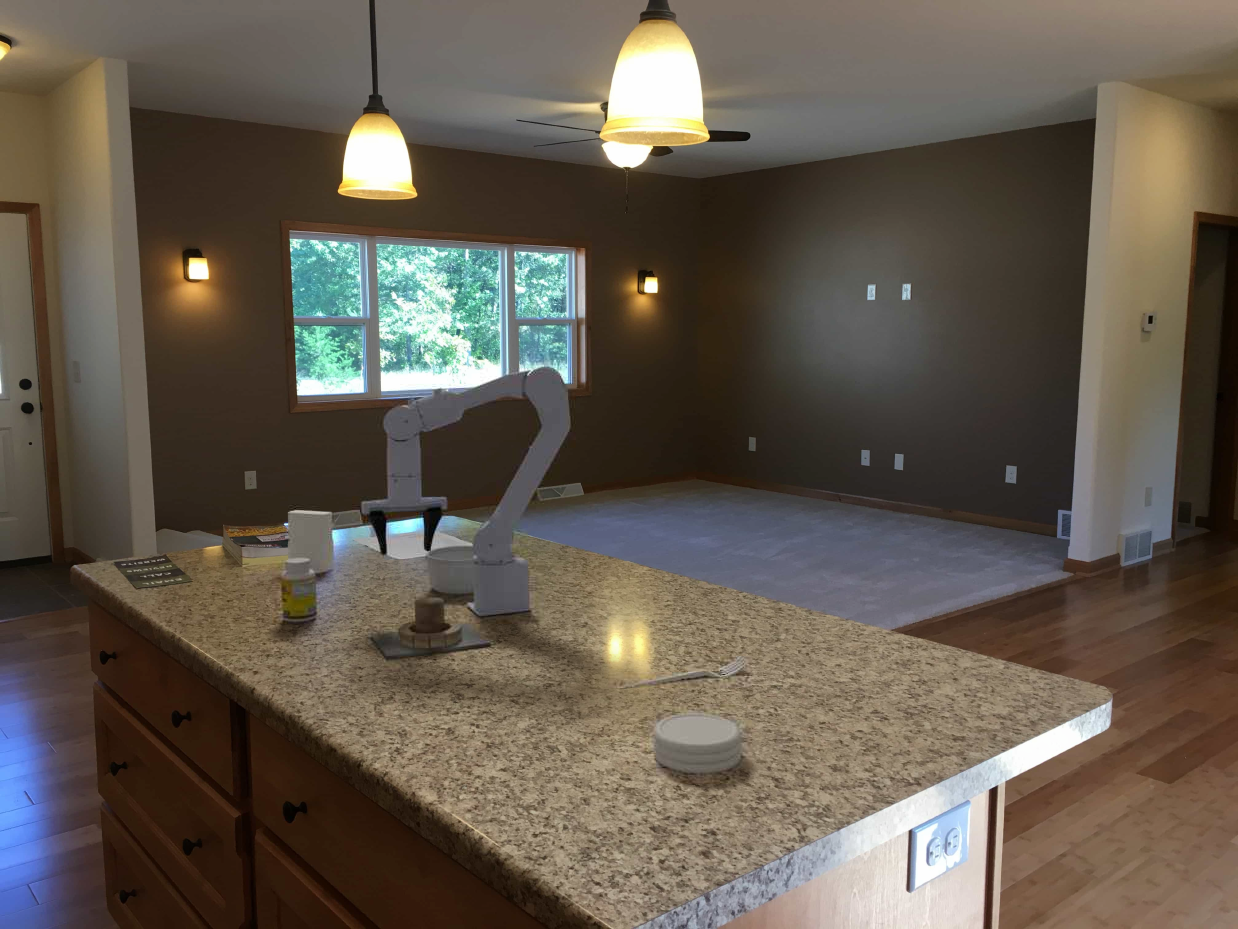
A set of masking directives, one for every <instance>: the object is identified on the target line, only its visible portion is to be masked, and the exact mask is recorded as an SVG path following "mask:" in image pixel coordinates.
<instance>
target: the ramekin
mask: <svg viewBox="0 0 1238 929" xmlns="http://www.w3.org/2000/svg"><path fill="white" fill-rule="evenodd" d="M474 556H476V554H475V552H474V550H473V545H451V546H449V545H448V546H442V547H437V548H433V549H431V551H426V553H425V562H426V563H427V572H428V579H429V584H430V587H431V588H432V589H433V590H434V591H436V592H437V593H441V594H447V595H449V594H450V595H465V594H474V576H473V557H474Z"/></svg>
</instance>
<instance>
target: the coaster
mask: <svg viewBox="0 0 1238 929" xmlns="http://www.w3.org/2000/svg"><path fill="white" fill-rule="evenodd" d="M742 736H743V735H742V731H741V729H740V727H739V726H738V725H737V724H736V723H735V722H733V721H731V720H730V719H728V718H726V717H722V716H719V715H714V714H708V713H700V712H699V713H697V712H696V713H695V712H693V713H691V712H690V713H689V712H688V713H681V714H680V713H679V714H675V715H674V714H673V715H671V716H668V717H665V718H662V719H661V720H660V721H659V722H657V723H656V724H655V725H654V728H653V742H652V743H653V750H652V753H653V754H652V755H653V756H654V759H655V761H657V763H659V764H660V765H661V764H662V765H661V766H662V767H664V766H665V767H664V768H666V767H668V768H667V769H669V768H670V769H669V770H671V769H673V770H672V771H674V770H677V771H676V772H678V771H682V772H681V773H683V772H686V773H685V774H690V773H695V774H694V775H710V774H709V773H712V774H718V773H722V772H725V771H728V770H731V769H733V768H734V767H736V766H737V765H738V764H739V762H740V761H741V758H742V752H741V750H742ZM717 772H718V773H717Z"/></svg>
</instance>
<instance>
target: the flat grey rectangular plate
mask: <svg viewBox="0 0 1238 929" xmlns="http://www.w3.org/2000/svg"><path fill="white" fill-rule="evenodd" d="M444 628H445V631H443V632H439V633H431V634H425V633H415V620H413V621H410V622H406V623H403V624H402V625H400V627H399V628H397V631H391V632H383V633H381V632H380V633H373V634H371V635H370V636H371V639H372V641H374V643H375V645H376V646H377V648H378V649H379V650H380V651H381V653H382V654H383V656H384V657H385V659H386V660H393V659H399V658H408V657H416V656H423V655H432V654H438V653H439V654H440V653H446V652H454V651H462V650H463V651H464V650H469V649H477V648H478V649H479V648H483V647H491V644H492V643H491V641H490V640H488V639H487V638H486V637H485V636H484V635H483V634H482V633H481V632H480V631H479V630H477V629H476V628H475V627H474V626H473V625H472V623H470V622H465V623H459V622H458V621H455V620H450V619H448V618H447V619H445V618H444Z"/></svg>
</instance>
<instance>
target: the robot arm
mask: <svg viewBox="0 0 1238 929" xmlns="http://www.w3.org/2000/svg"><path fill="white" fill-rule="evenodd" d="M526 396H527V398H528V400H529V401H530V402H531V404H532V405H533V406H534V407H535V409H536V411H537V415H538V418H539V422H540V423H541V429H540V430H539V432H538V433H537V435H536V436H535V439H534V441H533V443H532V444H531V447H530V448H529V450H528V452H527V454H526V455H525V457H524V459H523V460H522V463H521V465H519V468H518V469H517V472H516V473H515V475H514V477H513V478H512V481H511V482H510V484H509V486H508V488H507V489H506V491H505V493H504V495H503V497H502V498H501V500H500V502H499V503H498V506H497V507H496V509H495V511H494V513H493V515H492V516H491V517H490V518H488V519H486V520H485V521H483V523H482V524H481V525H480V527H479V529H478V531H477V532H476V533H475V535H474V537H473V540H472V546H473V550H474V552H475V554H476V556H474V557H473V576H474V593H473V602H467V603H466V606H467V607H468V608H469V609H470V610H471V611H473V612H474V613H475V614H476V615H477V616H478V617H486V616H495V615H502V614H512V613H518V612H520V613H521V612H527V611H531V610H532V608H531V607H530V571H529V566H528V562H527V561H526V559H525V558H524V557H515V554H513V553H512V551H511V550H510V546H511V544H512V543H513V540H514V531H515V529H516V527H517V525H518V524H519V521H520V519H521V518H522V516H523V514H524V512H525V510H526V508H527V507H528V505H529V504H530V502H531V500H532V498H533V496H534V494H535V493H536V491H537V489H538V487H539V486H540V484H541V482H542V480H543V478H544V476H545V475H546V473H547V471H548V469H549V468H550V466H551V464H552V462H553V461H554V459H555V457H556V455H557V453H558V452H559V450H560V448H561V446H562V444H563V443H564V441H565V439H566V437H567V435H568V434H569V432H570V430H571V416H570V406H569V394H568V388H567V385H566V384H565V381H564V379H563V376H562V375H561V374H560V373H559V371H558V370H557V369H555V368H553V367H551V366H540V367H537V368H535V369H533V370H531V369H527V370H523V371H517V372H512V373H508V374H505V375H501V376H500V377H497V378H495V379H493V380H489V381H487V382H485V383H482V384H479V385H477V386H474V387H472V388H469V389H467V390H464V391H462V392H457V391H455V390H452V389H450V388H446V389H442V387H440V388H439V387H438V388H437V389H434V390H433V394H430V395H427V396H424V397H421V398H419V399H416V400H415V398H411V399H408V400H407V405H405V404H403V405H396V406H395V407H393V408H391V409H390V410H388V412H387V413H385V415H384V418H383V429H384V431H385V433H386V435H387V436H386V437H387V438H386V442H387V443H386V444H387V447H386V470H387V471H386V473H387V498H386V499H385V498H384V499H375V500H367V501H366V500H365V501H361V503H360V504H361V514H362V515H366V516H367V518H368V520H369V521H370V523H371V525H372V528H373V530H374V532H375V535H376V538H377V542H378V546H379V551H380V554H381V555H382V556H386V555H388V553H387V552H388V547H387V545H388V544H387V523H388V522H387V520H388V518H387V517H386V514H385V513H393V512H394V513H395V512H411V511H422V519H423V550H425V551H426V552H428V551H431V550H432V544H433V539H434V537H435V536H434V535H435V533H436V530H437V527H438V526H439V523H440V521H441V519H442V518H443V513H444V512H443V511H442V510H448V498H447V497H445V496H438V497H437V496H431V497H430V496H427V497H426V496H423V497H422V464H421V463H422V462H421V461H422V460H421V459H422V458H421V457H422V456H421V455H422V452H421V451H422V450H421V445H420V442H421V441H420V433H421V432H424V433H427V432H430V431H434V430H435V429H439V428H441V427H444V426H446V425H450V424H453V423H455V422H458V421H460V420H461V419H462V416H463V414H464V412H465V410H468V409H472V408H474V407H477V406H481V405H483V404H486V403H489V402H493V401H495V400H499V399H502V398H505V397H511V398H517V399H522V400H523V399H524V398H526Z"/></svg>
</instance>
